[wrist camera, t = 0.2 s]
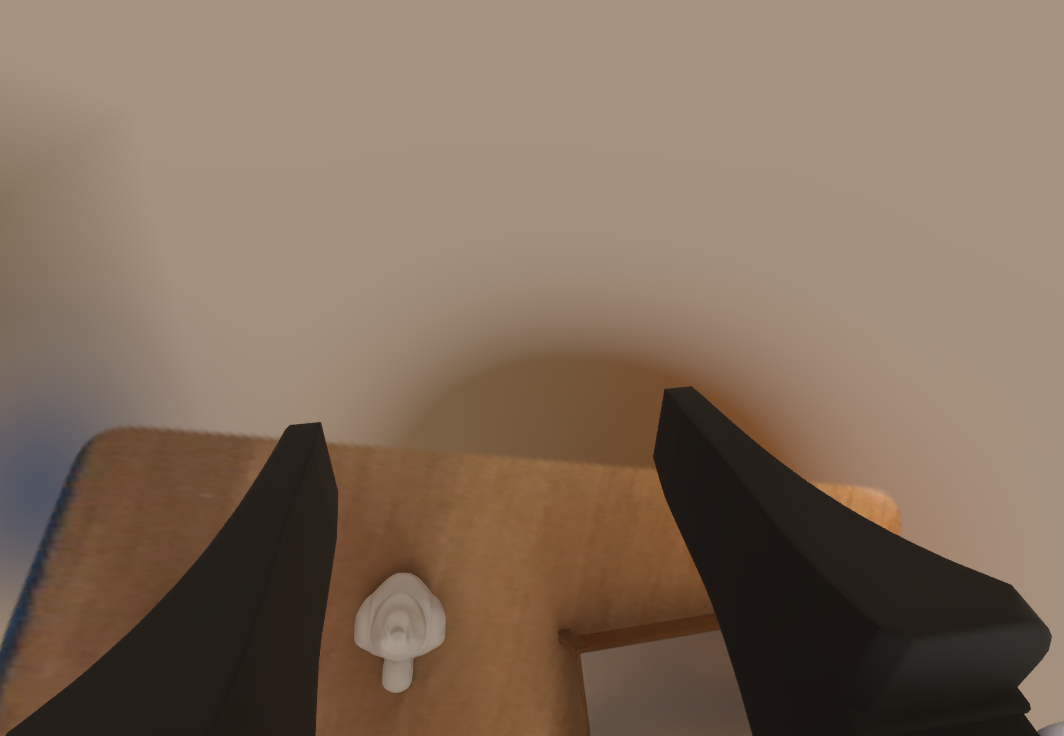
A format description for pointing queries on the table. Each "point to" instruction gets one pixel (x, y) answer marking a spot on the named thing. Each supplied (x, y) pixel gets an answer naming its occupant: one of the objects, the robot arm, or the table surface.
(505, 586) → the table surface
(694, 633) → the desk
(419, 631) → the white sculpted figure
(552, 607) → the table surface
